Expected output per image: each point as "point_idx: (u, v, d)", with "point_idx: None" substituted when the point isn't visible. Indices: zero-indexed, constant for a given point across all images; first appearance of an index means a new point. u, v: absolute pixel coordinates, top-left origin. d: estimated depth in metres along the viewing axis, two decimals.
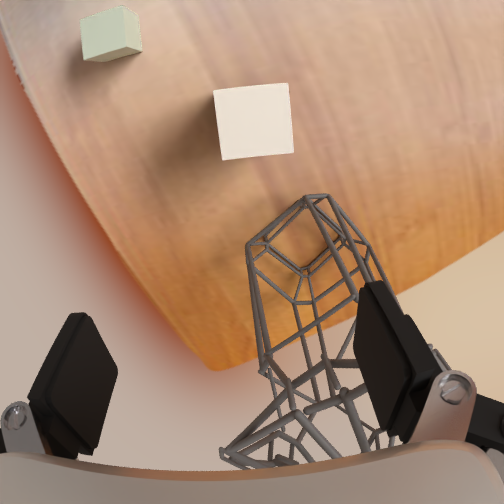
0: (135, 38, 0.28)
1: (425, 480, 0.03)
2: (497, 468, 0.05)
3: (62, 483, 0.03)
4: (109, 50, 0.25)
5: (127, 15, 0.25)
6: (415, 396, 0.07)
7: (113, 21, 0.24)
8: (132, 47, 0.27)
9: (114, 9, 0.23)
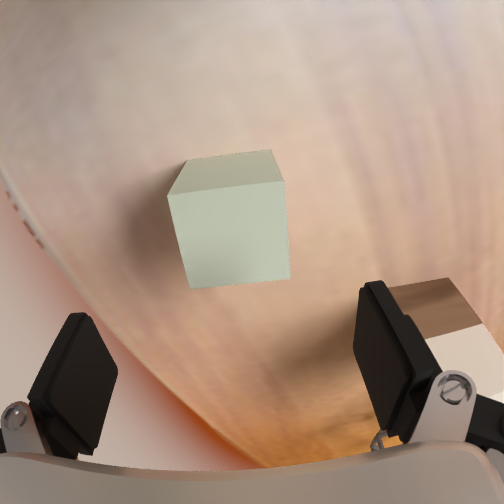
0: None
1: (425, 480, 0.03)
2: (497, 468, 0.05)
3: (62, 483, 0.03)
4: (251, 280, 0.16)
5: None
6: (415, 396, 0.06)
7: (260, 219, 0.14)
8: None
9: (263, 188, 0.13)
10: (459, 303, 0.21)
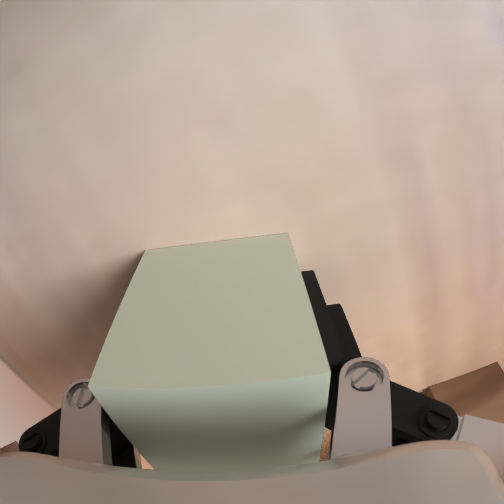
0: None
1: (425, 480, 0.03)
2: None
3: (62, 483, 0.03)
4: None
5: None
6: None
7: (275, 424, 0.07)
8: None
9: (284, 386, 0.06)
10: None
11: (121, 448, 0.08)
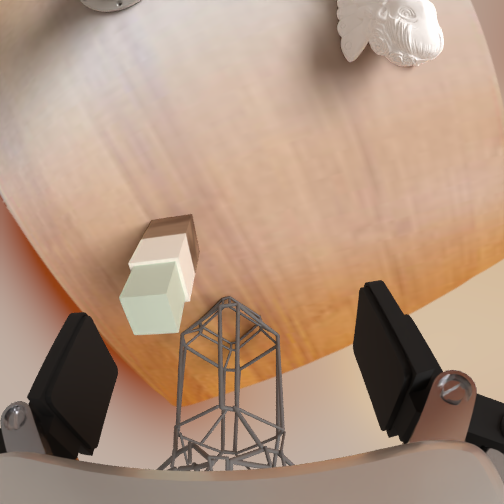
0: (179, 301, 0.34)
1: (425, 480, 0.03)
2: (497, 468, 0.05)
3: (62, 483, 0.03)
4: (160, 332, 0.32)
5: (171, 293, 0.31)
6: (415, 396, 0.06)
7: (159, 308, 0.30)
8: (180, 318, 0.34)
9: (157, 296, 0.30)
10: (182, 224, 0.42)
11: None
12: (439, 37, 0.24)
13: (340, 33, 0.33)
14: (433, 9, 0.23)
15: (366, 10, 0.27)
